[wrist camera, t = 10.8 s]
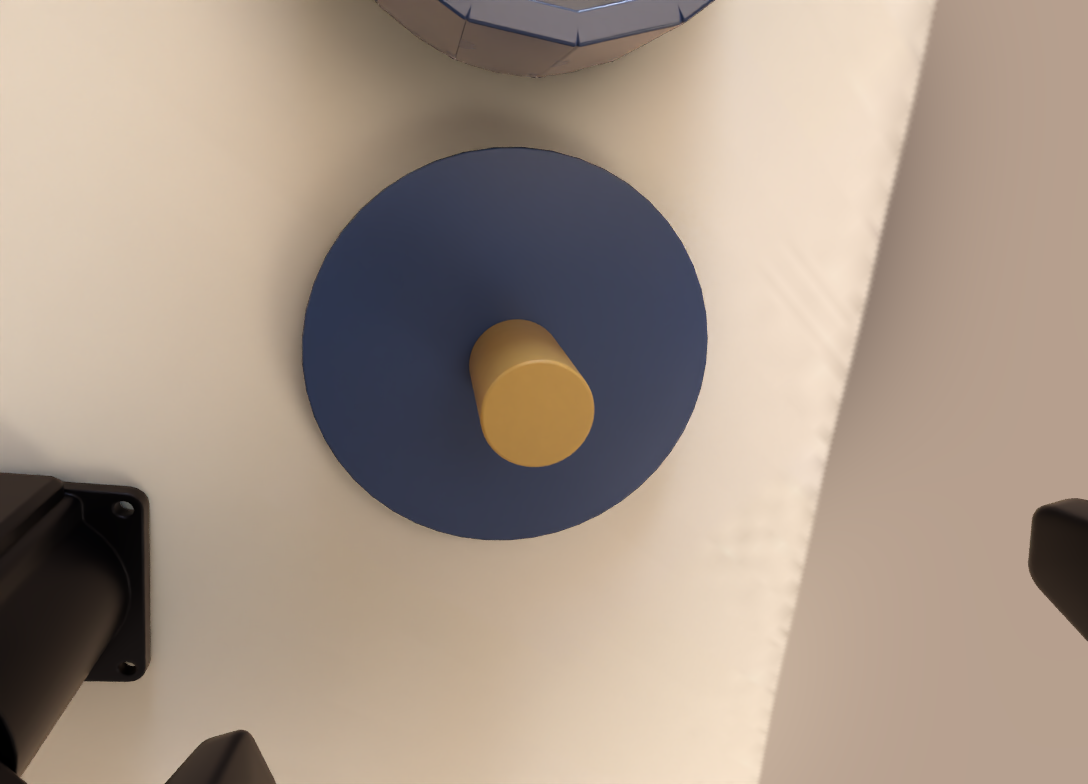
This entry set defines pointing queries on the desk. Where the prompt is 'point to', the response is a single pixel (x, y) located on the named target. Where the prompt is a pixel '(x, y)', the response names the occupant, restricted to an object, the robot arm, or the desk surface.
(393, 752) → the desk surface
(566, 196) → the tin lid
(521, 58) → the tin
